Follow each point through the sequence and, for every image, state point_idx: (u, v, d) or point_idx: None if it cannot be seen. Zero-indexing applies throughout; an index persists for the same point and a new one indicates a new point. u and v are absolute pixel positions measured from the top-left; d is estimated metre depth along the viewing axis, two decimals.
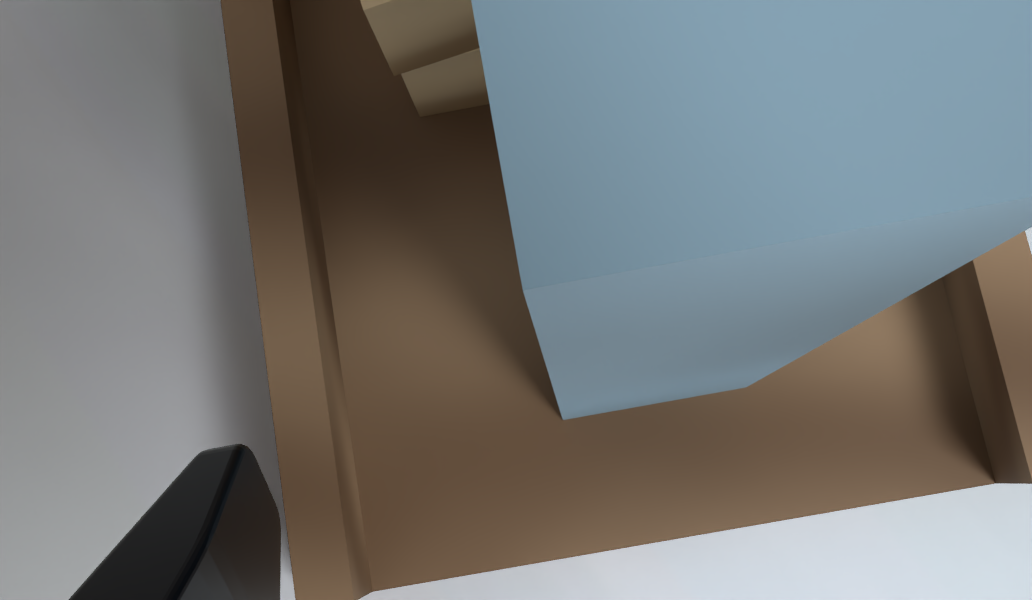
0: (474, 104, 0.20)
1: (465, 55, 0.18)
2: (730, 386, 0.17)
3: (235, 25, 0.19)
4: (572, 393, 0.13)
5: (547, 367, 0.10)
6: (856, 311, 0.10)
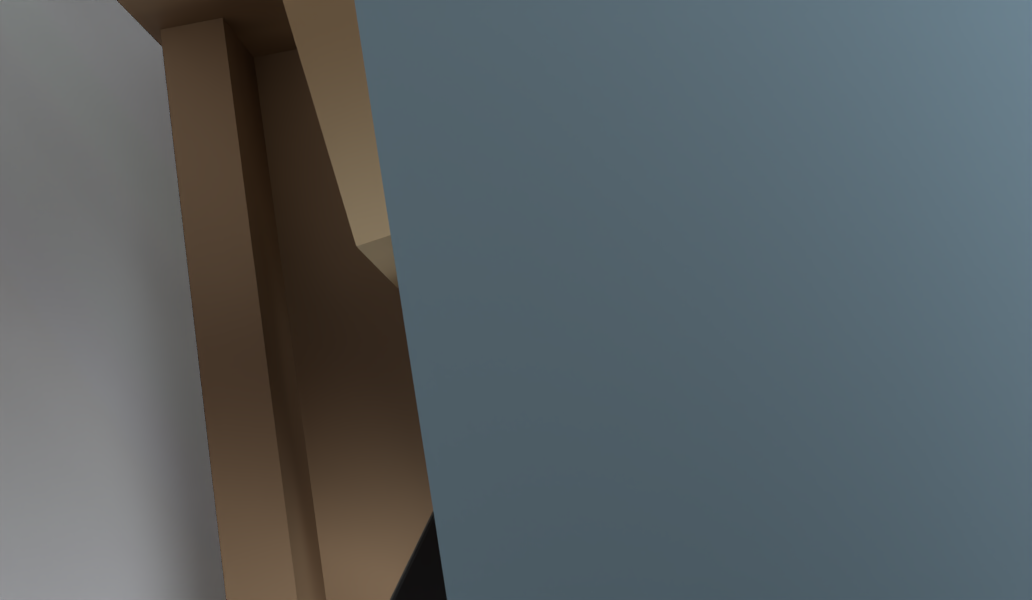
0: None
1: None
2: None
3: (194, 201, 0.15)
4: None
5: None
6: None
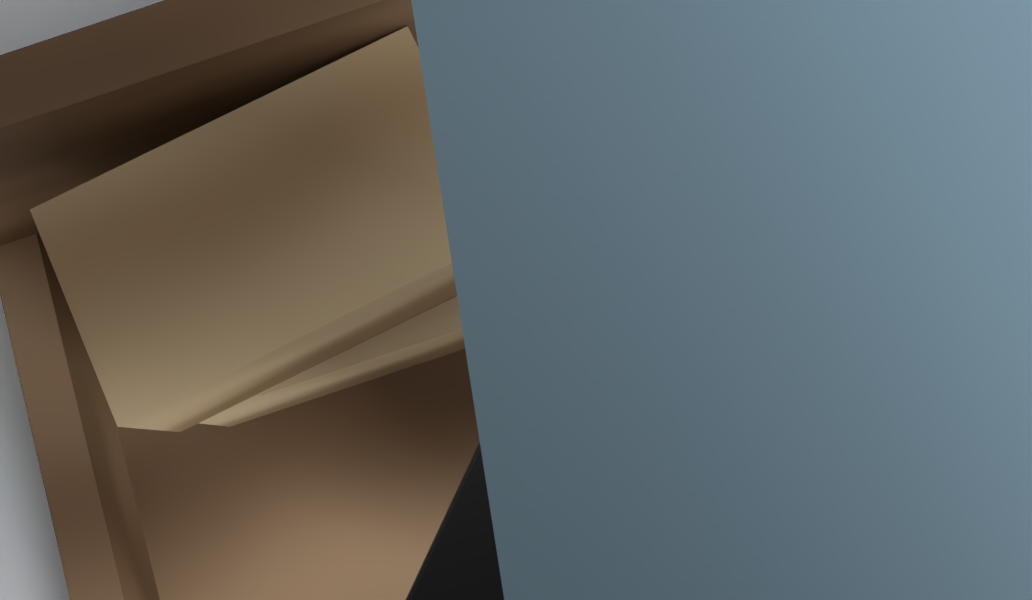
0: (278, 409, 0.21)
1: (246, 401, 0.18)
2: None
3: (31, 380, 0.20)
4: None
5: None
6: None
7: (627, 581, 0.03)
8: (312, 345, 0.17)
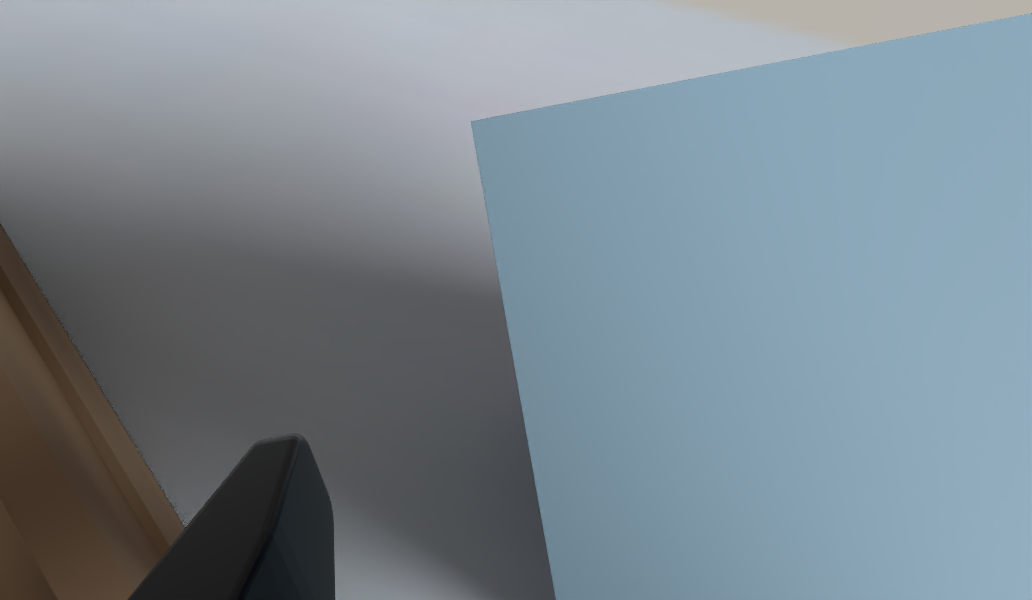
0: None
1: None
2: None
3: None
4: None
5: None
6: None
7: (632, 561, 0.04)
8: None
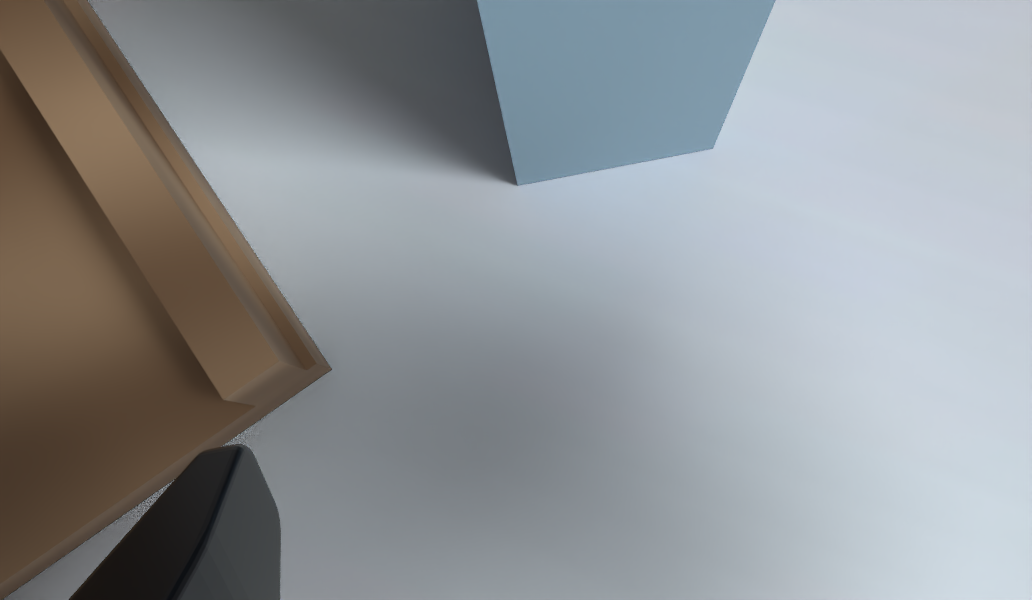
0: None
1: None
2: (694, 133, 0.16)
3: None
4: (509, 61, 0.12)
5: None
6: None
7: None
8: None
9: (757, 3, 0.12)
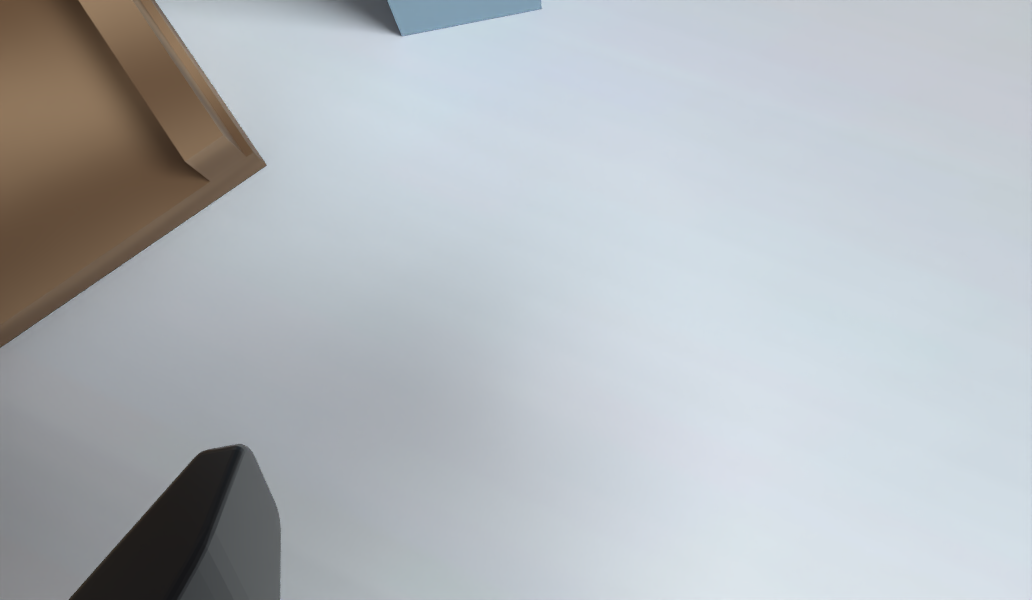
0: None
1: None
2: None
3: None
4: None
5: None
6: None
7: None
8: None
9: None
